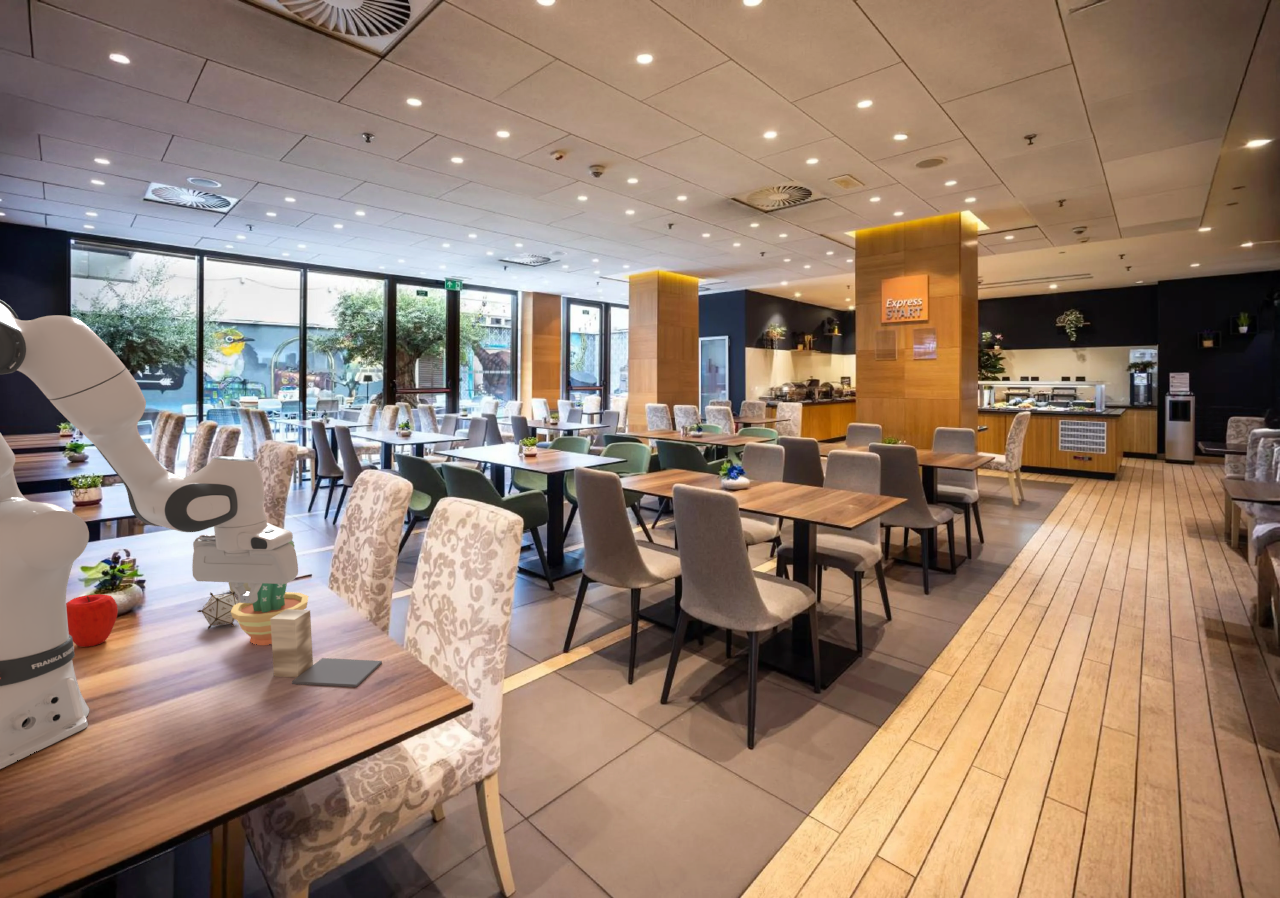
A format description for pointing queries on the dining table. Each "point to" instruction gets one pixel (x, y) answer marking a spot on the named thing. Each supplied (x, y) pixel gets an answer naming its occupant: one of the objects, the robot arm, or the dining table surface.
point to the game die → (219, 609)
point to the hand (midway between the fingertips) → (248, 602)
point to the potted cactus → (266, 610)
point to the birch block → (291, 643)
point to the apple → (91, 619)
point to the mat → (337, 672)
